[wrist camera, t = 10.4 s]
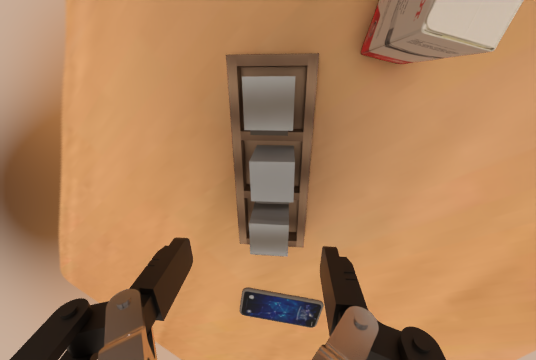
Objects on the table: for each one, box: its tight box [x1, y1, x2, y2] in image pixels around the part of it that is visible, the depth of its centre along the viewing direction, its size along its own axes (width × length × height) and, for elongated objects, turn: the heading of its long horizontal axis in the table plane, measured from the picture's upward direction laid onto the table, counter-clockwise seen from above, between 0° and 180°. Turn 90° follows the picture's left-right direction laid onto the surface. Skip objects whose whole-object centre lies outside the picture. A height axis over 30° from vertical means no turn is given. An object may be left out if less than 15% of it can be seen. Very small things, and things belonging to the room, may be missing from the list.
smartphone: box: [240, 288, 323, 327], centre depth 41 cm, size 7×1×15 cm
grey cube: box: [249, 145, 295, 204], centre depth 25 cm, size 5×4×6 cm
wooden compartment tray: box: [226, 53, 319, 256], centre depth 26 cm, size 24×9×8 cm, turn 0°
